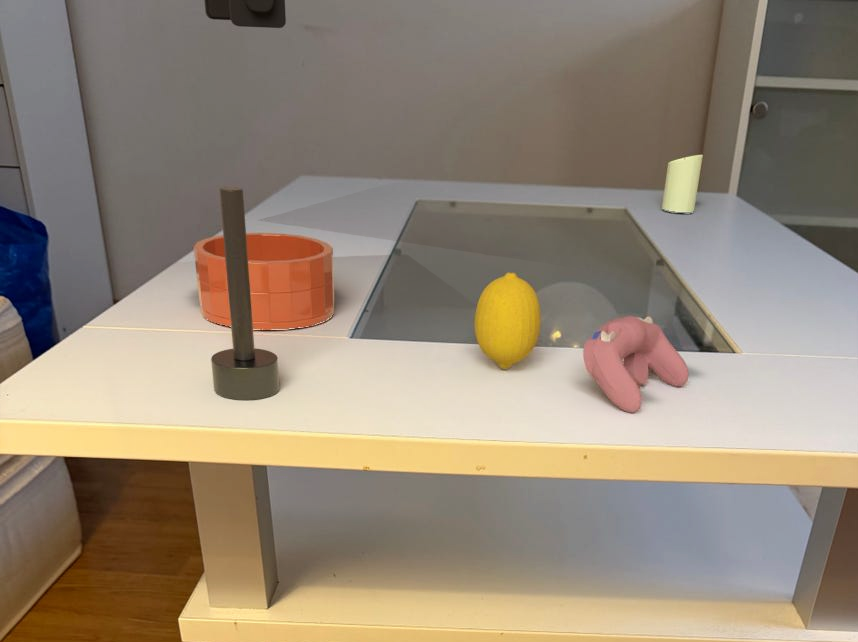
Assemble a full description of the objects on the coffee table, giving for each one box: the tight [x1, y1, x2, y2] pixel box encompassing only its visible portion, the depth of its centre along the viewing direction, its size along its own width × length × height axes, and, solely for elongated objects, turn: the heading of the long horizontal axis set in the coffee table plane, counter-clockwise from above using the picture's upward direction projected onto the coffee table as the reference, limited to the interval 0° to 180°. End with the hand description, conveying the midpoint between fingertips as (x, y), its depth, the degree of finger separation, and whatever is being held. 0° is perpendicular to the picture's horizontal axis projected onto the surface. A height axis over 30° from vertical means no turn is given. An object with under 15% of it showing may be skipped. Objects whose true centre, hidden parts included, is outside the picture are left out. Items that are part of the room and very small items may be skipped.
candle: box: [661, 154, 704, 213], centre depth 151 cm, size 5×5×8 cm
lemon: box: [474, 272, 542, 370], centre depth 82 cm, size 6×6×8 cm
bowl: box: [193, 232, 335, 330], centre depth 93 cm, size 13×13×6 cm
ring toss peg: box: [210, 186, 280, 401], centre depth 73 cm, size 5×5×14 cm
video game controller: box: [582, 315, 689, 413], centre depth 80 cm, size 10×5×7 cm, turn 144°
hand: (243, 23), depth 62 cm, fingers open, 9 cm apart
